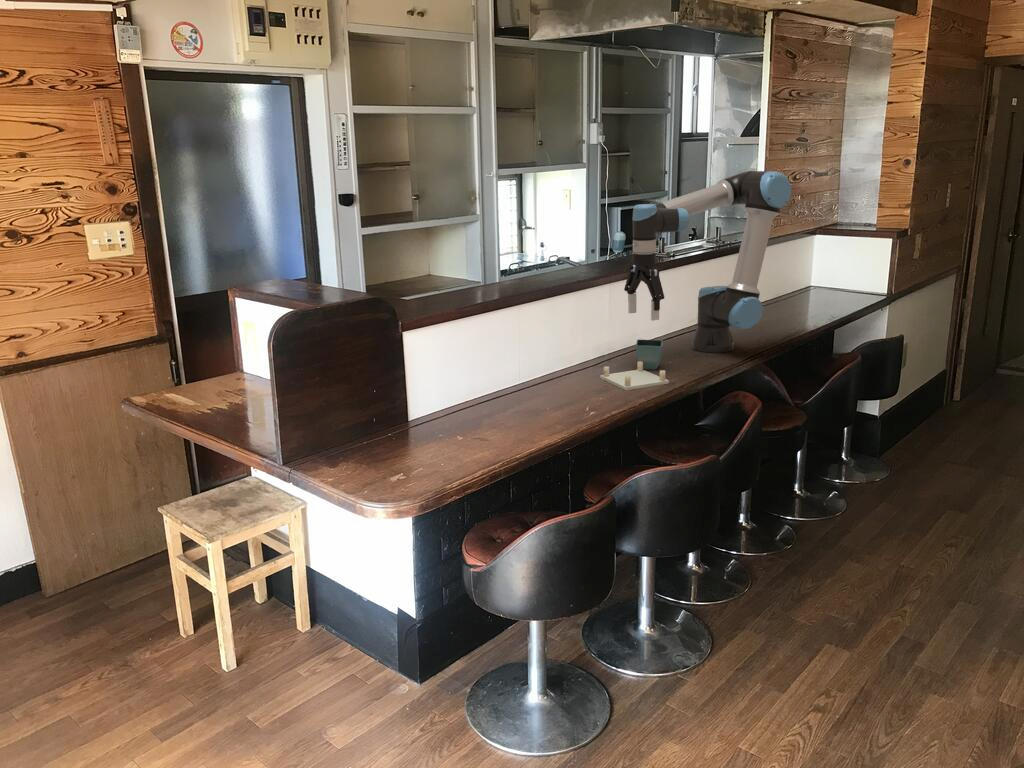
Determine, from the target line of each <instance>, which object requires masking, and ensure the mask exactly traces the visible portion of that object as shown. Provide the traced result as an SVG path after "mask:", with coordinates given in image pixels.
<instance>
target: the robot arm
mask: <svg viewBox="0 0 1024 768" xmlns="http://www.w3.org/2000/svg"><path fill="white" fill-rule="evenodd" d="M791 197H792V185H791V182H790V181H789V178H788V177H787V176H786V175H785V174H783V173H782V172H779V171H771V170H769V171H768V170H766V171H765V170H748V171H744V172H741V173H738V174H735V175H732V176H728V177H726V178H723V179H720V180H719V181H718V182H717V183H716V184H715V185H711V186H708V187H705V188H702V189H701V188H700V189H699V190H695V191H692V192H690V193H687V194H684V195H680V196H677V197H674V198H671V199H668V200H665V201H662V202H659V203H655V204H653V203H651V204H649V203H642V204H635V206H634V207H633V210H632V218H631V219H632V252H633V254H632V264H630V265H629V269H628V270H629V272H628V274H627V278H626V281H625V285H624V288H623V290H624V292H626V294H628V295H627V300H628V301H627V302H628V307H627V308H628V312H627V313H628V314H636V313H637V289H638V287H639V286H640V284H641V283H642V282H643V283H644V284H646V287H647V289H648V291H649V293H650V296H651V300H650V308H651V309H650V320H651V321H659V320H660V310H661V300H664V299H665V294H664V290H663V285H662V282H661V278H660V270H659V269H653V266H655V265H656V263H657V261H656V259H657V255H656V253H655V252H657V234H663V233H678V232H684V231H686V230H687V229H688V227H689V225H690V217H691V216H695V215H697V214H700V213H704V212H706V211H709V210H712V209H715V208H718V207H719V208H720V207H721V206H724V207H725V208H727V207H731V206H735V205H744V210H745V211H746V213H747V218H746V222H745V226H744V231H743V235H742V237H741V238H742V239H741V243H740V247H739V252H738V256H737V261H736V265H735V268H734V269H735V270H734V272H733V277H732V282H731V283H729V284H727V285H713V286H705V287H701V288H700V289H699V290H698V296H697V327H696V329H695V333H694V336H693V339H692V340H691V349H692V350H694V351H698V352H703V353H714V354H715V353H726V352H727V353H728V352H731V351H733V350H734V348H735V347H734V345H735V343H734V339H733V336H732V331H731V327H732V328H734V329H740V330H747V329H751V328H752V327H754V326H755V325H757V324H758V322H759V321H760V320H761V318H762V316H763V312H764V311H763V310H764V306H763V304H762V302H761V300H760V299H759V298H760V295H761V294H760V293H761V292H760V291H759V289H758V283H759V278H760V275H761V273H762V272H761V271H762V267H763V263H764V258H765V254H766V250H767V247H768V242H769V238H770V234H771V229H772V225H773V221H774V219H775V218H776V217H777V216H779V215H780V212H781V208H782V207H785V206H786V204H788V202H789V201H790V199H791Z"/></svg>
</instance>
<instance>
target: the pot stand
mask: <svg viewBox="0 0 1024 768" xmlns="http://www.w3.org/2000/svg"><path fill="white" fill-rule="evenodd" d="M636 363H637V364H636V365H637V366H636V367H637V368H636V369H635V370H628V371H627V370H626V371H621V372H614V373H610V366H608V365H607V366H605V365H604V366H603V374H601V375H599V379H601V380H603V381H605V382H607V383H609V384H611V385H613V386H616V387H617V388H620V389H621V390H625V391H631V390H638V389H644V388H650V387H656V386H657V387H658V386H663V385H667V384H669V383H670V380H668V379H667V378H666V370H665V369H663V370H662V369H660V370H659V375H656V374H654V373H652V372H649V371H648V370H647V371H646V369H643V362H642V361H638V362H636Z"/></svg>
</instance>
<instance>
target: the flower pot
mask: <svg viewBox="0 0 1024 768" xmlns="http://www.w3.org/2000/svg"><path fill="white" fill-rule="evenodd" d="M663 342H664V340H663V339H636V343H635V353H636V355H635V356H636V361H637V362H638V361H642V362H643V370H654V371H655V370H657V368H658V367H659V365H660V363H661V358H662V353H663ZM637 362H636V363H637Z"/></svg>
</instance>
